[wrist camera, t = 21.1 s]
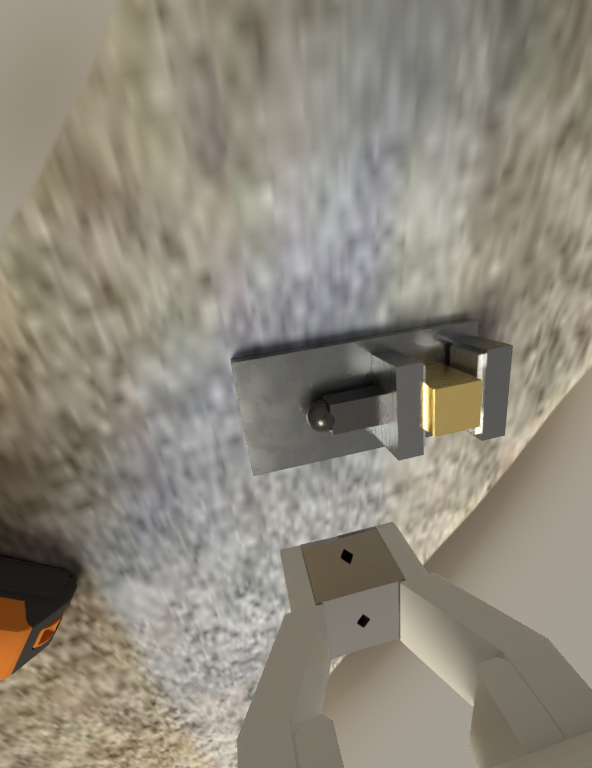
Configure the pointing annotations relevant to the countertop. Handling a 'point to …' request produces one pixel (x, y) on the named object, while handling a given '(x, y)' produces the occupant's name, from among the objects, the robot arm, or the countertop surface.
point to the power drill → (29, 609)
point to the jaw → (380, 406)
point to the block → (451, 400)
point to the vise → (349, 372)
